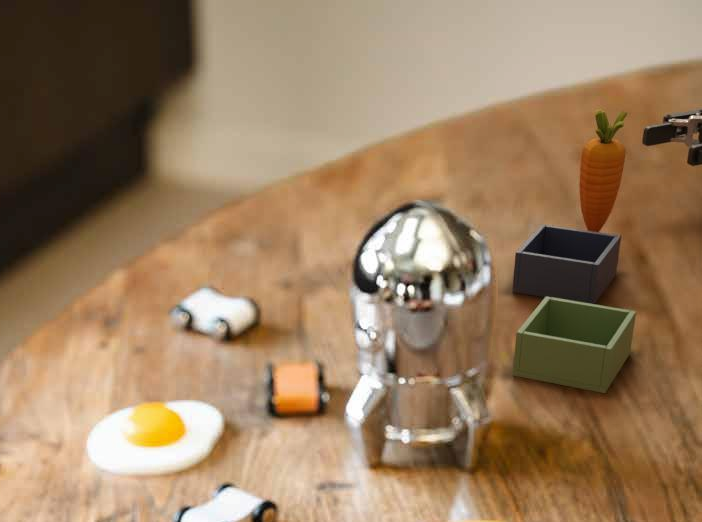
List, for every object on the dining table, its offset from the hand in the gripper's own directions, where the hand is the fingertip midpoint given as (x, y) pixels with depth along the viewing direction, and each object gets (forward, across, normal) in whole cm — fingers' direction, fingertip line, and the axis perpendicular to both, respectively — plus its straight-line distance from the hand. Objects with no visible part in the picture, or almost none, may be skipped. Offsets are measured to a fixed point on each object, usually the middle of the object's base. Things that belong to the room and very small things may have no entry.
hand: (666, 146), depth 143 cm
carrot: (+9, 0, +10) cm, 13 cm away
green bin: (+31, +27, +9) cm, 42 cm away
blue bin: (+20, +10, +9) cm, 24 cm away
